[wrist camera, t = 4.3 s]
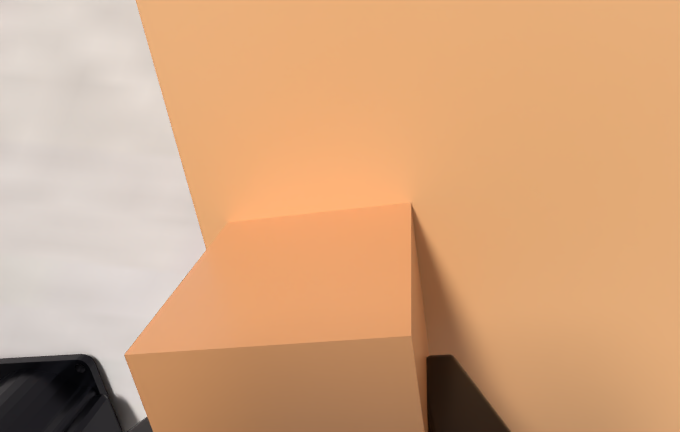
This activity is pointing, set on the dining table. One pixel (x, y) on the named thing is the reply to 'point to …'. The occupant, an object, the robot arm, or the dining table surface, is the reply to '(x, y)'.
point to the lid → (420, 213)
